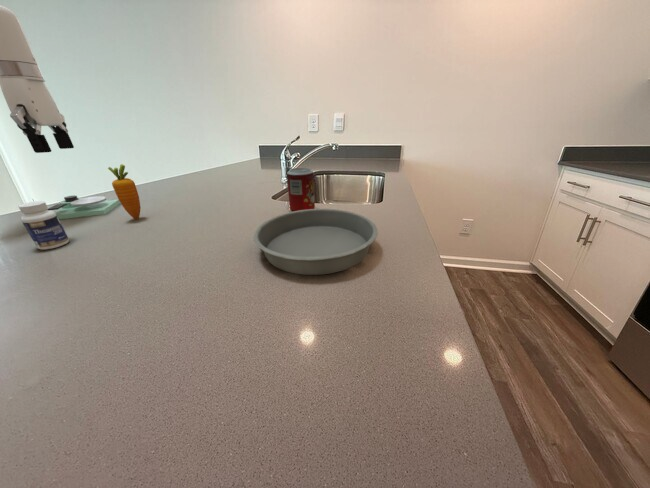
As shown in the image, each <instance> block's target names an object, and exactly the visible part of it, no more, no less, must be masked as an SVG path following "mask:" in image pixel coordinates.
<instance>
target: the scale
mask: <svg viewBox="0 0 650 488" xmlns="http://www.w3.org/2000/svg"><path fill="white" fill-rule="evenodd" d="M77 198H78V200H79V199H83V198H84V197H77ZM64 203H67V205H66V206H64V207H62V208H60V209H58V210H54V212H55V213H56V215H57V217H58V219H59V220H63V219H73V218H82V217H83V218H84V217H91V216H101V215H107V214H108V213H109V212H111V211H112V210H113V209H115V208H116V207H118V206H119V205H120V204H121V203H120V201H119V199H118V198H117V199H109V200H108V199H106V200H105V201H103V202H100V203H97V204H92V205H86V206H72V205H71V202H66V201H65V199H64V200H61V201H59V203H58V204H64Z"/></svg>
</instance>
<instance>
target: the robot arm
mask: <svg viewBox="0 0 650 488" xmlns="http://www.w3.org/2000/svg"><path fill="white" fill-rule="evenodd" d="M45 82H46V80H45V77H44V75H43V73H42V71H41V68H40V66H39V64H38V61H37V60H36V57H35V55H34V53H33V50H32V48H31V46H30V44H29V41H28V39H27V36H26V34H25V32H24V30H23V28H22V25H21V22H20V21H19V19H18V17H17V15H16V14H15V12H13V11H12V10H11V9H9V8H8V7H6V6H4V5H0V88H1V92H2V95H3V97H4V100H5V102H6V105H7V108H8V110H9V111H10V113H9V117H10V118H11V119H12V121H13V122H14V123H15V124H16V126H17V128H19V129H20V130H21V131H22V133H23V135H24V136H26V138H27V140H28V141H29V144H30V146H31V148H32V150H33V151H34V153H35V154H41V153H51V152H52V148H51V146H50V145H49V142H48V140H47V138H46V135H45V134H42V127H48V128H49V129H50V130H51V131H52V135H53V137H54V140H55V142H56V144H57V147H58V148H59V149H60V150H66V149H74V148H75V147H74V144H73V141H72V138H71V137H70V135H69V130H68V128H67V123H66V120H65V116H64V115H63V114H62V113H61V112H60V110H59V108H58V106H57V104H56V101H55V100H54V99H53V98H54V97H53V96H52V94H51V92H50V91H49V88H48V87H47V86H46V83H45Z"/></svg>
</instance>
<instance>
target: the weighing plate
mask: <svg viewBox="0 0 650 488" xmlns="http://www.w3.org/2000/svg"><path fill="white" fill-rule="evenodd" d="M82 198H83V199H79V200H75V201H73V202H71V205H72V206H86V205H92V204H97V203H100V202H103V201H106V200H107V198H106V196H103V195H101V196H100V195H98V196H97V195H96V196H90V197H89V196H88V197H82Z"/></svg>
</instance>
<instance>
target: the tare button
mask: <svg viewBox="0 0 650 488" xmlns="http://www.w3.org/2000/svg"><path fill="white" fill-rule="evenodd" d="M78 198H79V197H78V196H77V195H68V196H64V197H63V199H64V200H65V201H66V202H73V201H75V200H78Z"/></svg>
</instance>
